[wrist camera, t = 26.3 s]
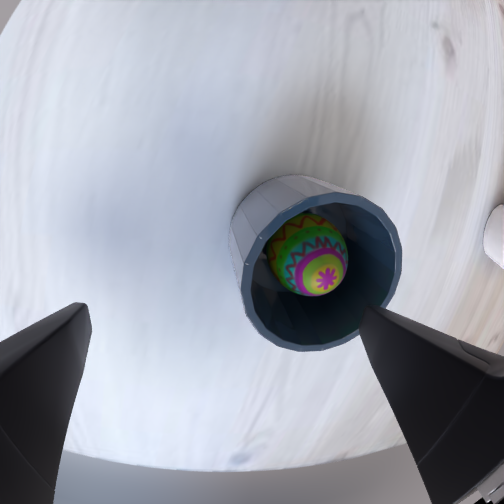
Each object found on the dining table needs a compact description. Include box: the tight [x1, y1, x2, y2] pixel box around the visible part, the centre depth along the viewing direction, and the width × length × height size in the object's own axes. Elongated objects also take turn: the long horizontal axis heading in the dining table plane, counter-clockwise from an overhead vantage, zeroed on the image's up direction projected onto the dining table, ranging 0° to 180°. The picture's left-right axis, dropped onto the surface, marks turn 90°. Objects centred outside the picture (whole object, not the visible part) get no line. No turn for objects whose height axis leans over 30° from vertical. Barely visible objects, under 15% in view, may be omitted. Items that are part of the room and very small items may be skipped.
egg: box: [266, 213, 348, 296], centre depth 18 cm, size 5×5×6 cm
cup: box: [229, 175, 402, 352], centre depth 18 cm, size 9×9×7 cm
